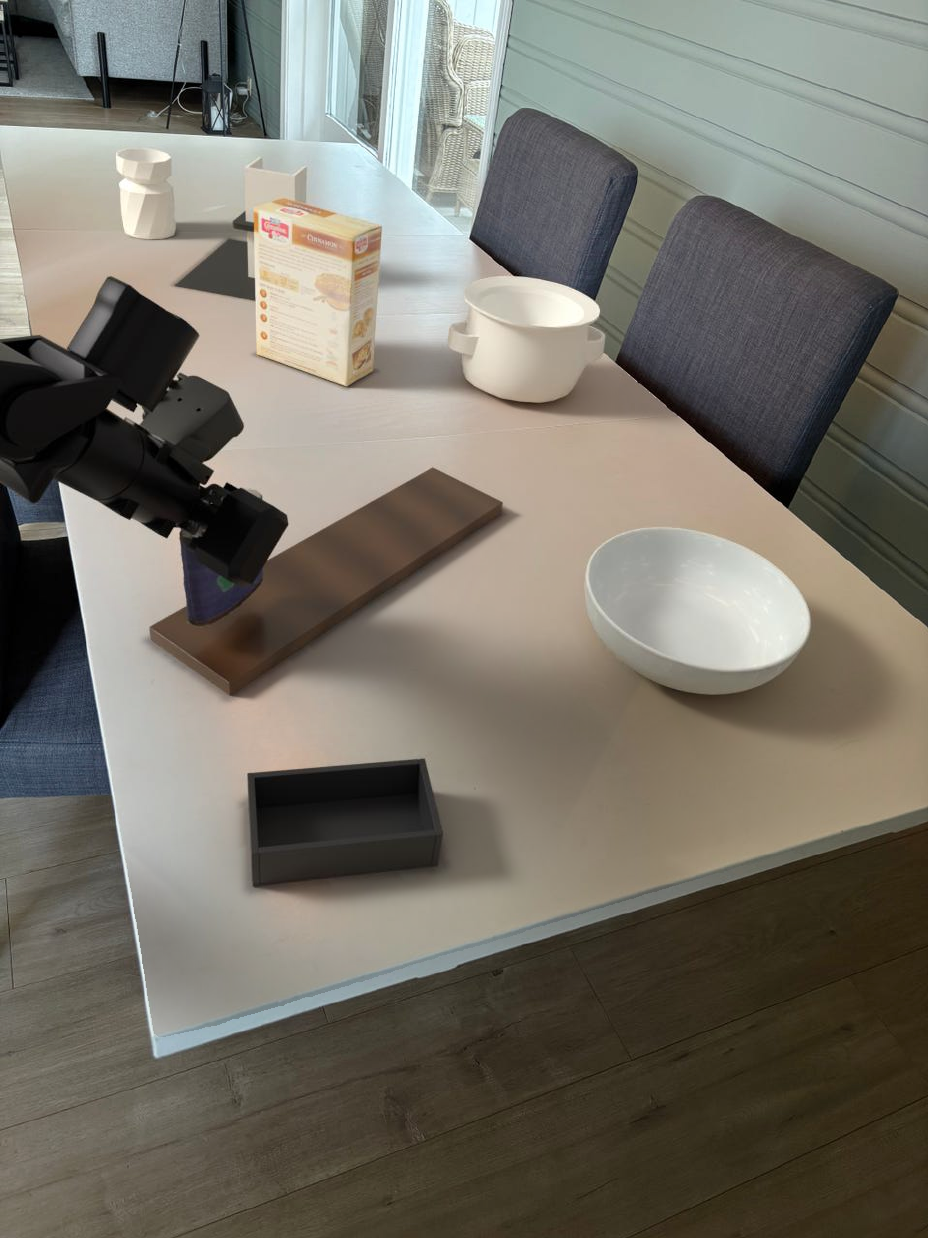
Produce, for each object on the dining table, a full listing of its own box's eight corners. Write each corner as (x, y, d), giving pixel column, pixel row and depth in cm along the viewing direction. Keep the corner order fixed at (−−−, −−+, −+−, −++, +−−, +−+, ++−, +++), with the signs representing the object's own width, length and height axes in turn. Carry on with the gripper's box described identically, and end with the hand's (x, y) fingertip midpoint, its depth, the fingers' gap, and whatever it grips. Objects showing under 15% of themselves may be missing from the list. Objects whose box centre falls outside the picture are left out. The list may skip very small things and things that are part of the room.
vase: (130, 240, 153) (122, 162, 145) (117, 223, 158) (109, 147, 151) (182, 238, 156) (177, 162, 149) (168, 221, 162) (163, 147, 154)
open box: (252, 886, 62) (251, 854, 60) (248, 805, 68) (247, 772, 65) (437, 865, 66) (443, 834, 63) (420, 789, 71) (424, 758, 68)
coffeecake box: (374, 370, 126) (384, 224, 114) (346, 388, 121) (353, 237, 109) (285, 339, 130) (285, 195, 118) (254, 355, 125) (251, 205, 113)
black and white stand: (368, 263, 158) (374, 161, 148) (332, 314, 140) (336, 201, 129) (228, 238, 159) (224, 135, 149) (174, 285, 140) (165, 171, 130)
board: (229, 695, 76) (229, 683, 75) (150, 639, 80) (148, 626, 79) (501, 513, 102) (503, 502, 101) (431, 478, 106) (432, 466, 105)
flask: (246, 567, 83) (245, 464, 76) (273, 579, 82) (274, 476, 75) (178, 620, 76) (169, 513, 70) (206, 633, 75) (200, 526, 69)
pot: (573, 361, 137) (590, 279, 130) (611, 416, 125) (633, 330, 117) (430, 357, 132) (439, 272, 124) (455, 414, 119) (467, 324, 111)
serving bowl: (534, 598, 91) (546, 542, 87) (703, 567, 99) (722, 514, 95) (645, 748, 77) (667, 690, 73) (831, 697, 85) (861, 642, 81)
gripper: (268, 409, 58) (370, 494, 73) (84, 314, 66) (210, 409, 80) (178, 558, 58) (298, 615, 72) (3, 446, 65) (144, 517, 80)
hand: (236, 532), depth 76 cm, fingers closed on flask, 3 cm apart
